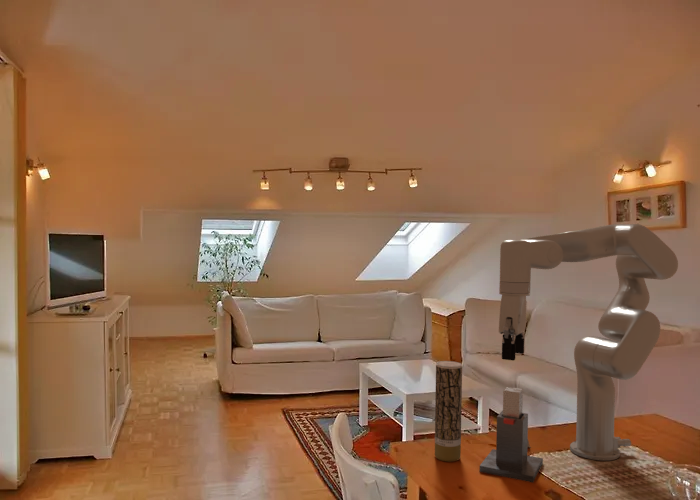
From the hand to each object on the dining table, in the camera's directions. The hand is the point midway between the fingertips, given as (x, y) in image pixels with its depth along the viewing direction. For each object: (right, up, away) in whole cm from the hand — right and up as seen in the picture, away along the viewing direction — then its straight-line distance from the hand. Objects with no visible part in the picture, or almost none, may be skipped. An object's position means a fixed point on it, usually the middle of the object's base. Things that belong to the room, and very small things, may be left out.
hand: (513, 356), depth 148 cm
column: (0, -27, +1) cm, 27 cm away
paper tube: (-15, -28, +7) cm, 33 cm away
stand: (0, -29, +1) cm, 29 cm away
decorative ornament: (+7, -28, +18) cm, 34 cm away
